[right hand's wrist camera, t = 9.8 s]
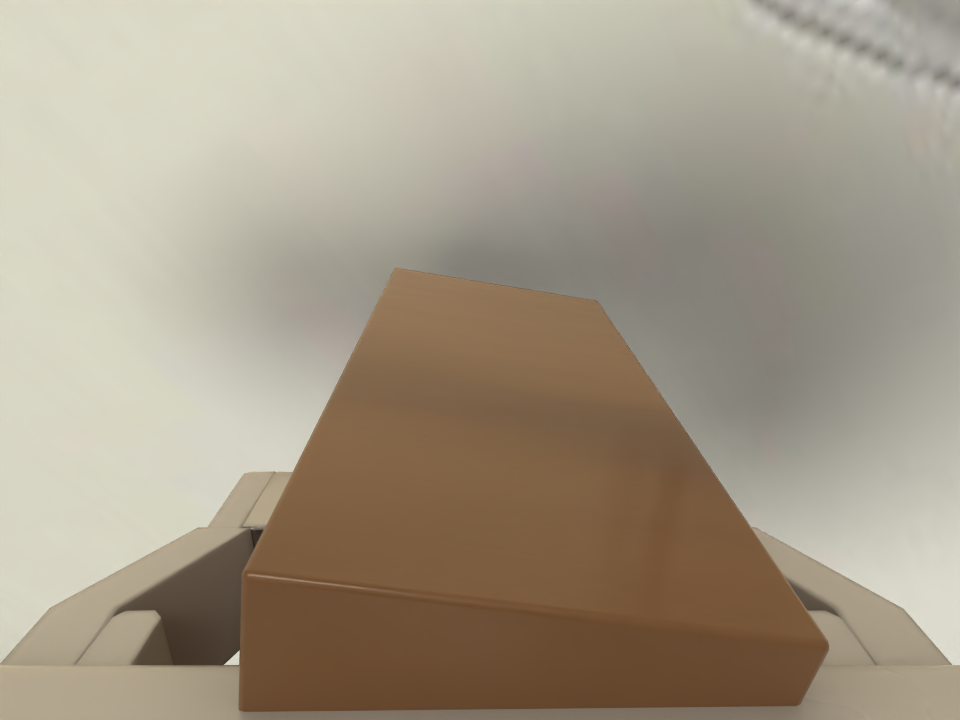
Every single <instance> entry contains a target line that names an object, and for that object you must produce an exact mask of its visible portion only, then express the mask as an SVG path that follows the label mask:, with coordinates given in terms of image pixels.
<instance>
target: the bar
mask: <svg viewBox="0 0 960 720" xmlns="http://www.w3.org/2000/svg"><path fill="white" fill-rule="evenodd" d="M828 651H829V643H828V640H827V639H826V637H825V636H824V634H823V633H822V631H821V630H820V628H819V627H818V625H817V624H816V622H815V621H814V619H813V618H812V616H811V615H810V614H809V612H808V611H807V609H806V608H805V606H804V605H803V603H802V602H801V600H800V599H799V597H798V596H797V594H796V593H795V591H794V590H793V588H792V587H791V586H790V584H789V583H788V581H787V580H786V578H785V577H784V575H783V574H782V572H781V571H780V569H779V568H778V566H777V565H776V563H775V562H774V560H773V559H772V558H771V556H770V555H769V553H768V552H767V550H766V549H765V547H764V546H763V544H762V543H761V541H760V540H759V538H758V537H757V535H756V534H755V532H754V531H753V530H752V528H751V527H750V525H749V524H748V522H747V521H746V519H745V518H744V516H743V515H742V513H741V512H740V510H739V509H738V507H737V506H736V505H735V503H734V502H733V500H732V499H731V497H730V496H729V494H728V493H727V491H726V490H725V488H724V487H723V485H722V484H721V482H720V481H719V479H718V478H717V477H716V475H715V474H714V472H713V471H712V469H711V468H710V466H709V465H708V463H707V462H706V460H705V459H704V457H703V456H702V454H701V453H700V451H699V450H698V449H697V447H696V446H695V444H694V443H693V441H692V440H691V438H690V437H689V435H688V434H687V432H686V431H685V429H684V428H683V426H682V425H681V423H680V422H679V421H678V419H677V418H676V416H675V415H674V413H673V412H672V410H671V409H670V407H669V406H668V404H667V403H666V401H665V400H664V398H663V397H662V395H661V394H660V393H659V391H658V390H657V388H656V387H655V385H654V384H653V382H652V381H651V379H650V378H649V376H648V375H647V373H646V372H645V370H644V369H643V368H642V366H641V365H640V363H639V362H638V360H637V359H636V357H635V356H634V354H633V353H632V351H631V350H630V348H629V347H628V345H627V344H626V342H625V341H624V340H623V338H622V337H621V335H620V334H619V332H618V331H617V329H616V328H615V326H614V325H613V323H612V322H611V320H610V319H609V317H608V316H607V314H606V313H605V312H604V310H603V309H602V307H601V306H600V304H599V303H598V302H597V301H595V300H589V299H582V298H576V297H570V296H564V295H558V294H552V293H546V292H540V291H534V290H527V289H521V288H515V287H509V286H503V285H497V284H491V283H485V282H479V281H472V280H466V279H460V278H454V277H448V276H442V275H436V274H430V273H424V272H418V271H411V270H405V269H399V268H396V269H394V271H393V273H392V275H391V277H390V279H389V281H388V283H387V285H386V287H385V289H384V291H383V293H382V295H381V297H380V299H379V301H378V303H377V305H376V307H375V309H374V311H373V313H372V315H371V317H370V319H369V321H368V323H367V325H366V327H365V329H364V331H363V333H362V335H361V337H360V339H359V341H358V343H357V345H356V347H355V349H354V351H353V353H352V355H351V357H350V359H349V361H348V363H347V365H346V367H345V369H344V371H343V373H342V375H341V377H340V379H339V381H338V383H337V385H336V387H335V389H334V391H333V393H332V395H331V397H330V399H329V401H328V403H327V405H326V407H325V409H324V411H323V413H322V415H321V417H320V419H319V421H318V423H317V425H316V427H315V429H314V431H313V433H312V435H311V437H310V439H309V441H308V443H307V445H306V447H305V449H304V451H303V453H302V455H301V457H300V459H299V461H298V463H297V465H296V467H295V469H294V471H293V473H292V475H291V477H290V479H289V481H288V483H287V485H286V487H285V489H284V491H283V493H282V495H281V497H280V499H279V501H278V503H277V505H276V507H275V509H274V511H273V513H272V515H271V517H270V519H269V520H268V522H267V524H266V526H265V528H264V530H263V532H262V534H261V536H260V538H259V540H258V542H257V544H256V546H255V548H254V550H253V552H252V554H251V556H250V558H249V560H248V562H247V564H246V566H245V568H244V570H243V572H242V578H241V619H240V660H239V701H238V707H239V710H240V711H243V712H286V711H381V710H476V709H571V708H666V707H761V706H797V705H800V704H801V702H802V700H803V698H804V696H805V694H806V693H807V691H808V689H809V687H810V685H811V683H812V681H813V679H814V678H815V676H816V674H817V672H818V670H819V668H820V666H821V664H822V663H823V661H824V659H825V657H826V655H827V653H828Z"/></svg>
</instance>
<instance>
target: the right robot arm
mask: <svg viewBox="0 0 960 720" xmlns="http://www.w3.org/2000/svg"><path fill="white" fill-rule="evenodd" d="M292 473H293V472H277V473H276V472H248V473H245V474H244V475H243V476H242V477H241V479H240V480H239V482H238V483H237V485H236V486H235V487H234V489H233V490H232V492H231V493H230V495H229V496H228V498H227V499H226V501H225V502H224V504H223V505H222V507H221V508H220V510H219V511H218V512H217V514H216V515H215V517H214V518H213V520H212V521H211V523H210V524H209V526H208V527H207V528H197V529H195V530H193V531H191V532H189V533H187V534H186V535H184V536H182V537H180V538H178V539H176V540H175V541H173V542H171V543H169V544H167V545H165V546H163V547H162V548H160V549H158V550H156V551H154V552H152V553H151V554H149V555H147V556H145V557H143V558H141V559H140V560H138V561H136V562H134V563H132V564H130V565H128V566H127V567H125V568H123V569H121V570H119V571H117V572H116V573H114V574H112V575H110V576H108V577H106V578H104V579H103V580H101V581H99V582H97V583H95V584H93V585H92V586H90V587H88V588H86V589H84V590H82V591H81V592H79V593H77V594H75V595H73V596H71V597H69V598H68V599H66V600H64V601H62V602H60V603H58V604H57V605H55V606H53V607H51V608H50V609H49V610H48V611H47V612H46V613H45V614H44V615H43V616H42V618H41V619H40V620H39V621H38V622H37V623H36V624H35V625H34V627H33V628H32V629H31V630H30V631H29V632H28V633H27V634H26V636H25V637H24V638H23V639H22V640H21V641H20V642H19V643H18V644H17V646H16V647H15V648H14V649H13V650H12V651H11V652H10V653H9V655H8V656H7V657H6V658H5V659H4V660H3V661H2V662H1V664H0V720H960V665H952V664H951V663H950V662H949V661H948V659H947V658H946V657H945V656H944V655H943V654H942V652H941V651H940V650H939V649H938V648H937V647H936V646H935V644H934V643H933V642H932V641H931V640H930V639H929V638H928V636H927V635H926V634H925V633H924V632H923V631H922V630H921V628H920V627H919V626H918V625H917V624H916V623H915V621H914V620H913V619H912V618H911V617H910V616H909V615H908V613H907V612H906V611H905V610H904V609H903V608H901V607H899V606H897V605H895V604H894V603H892V602H890V601H888V600H886V599H885V598H883V597H881V596H879V595H877V594H875V593H874V592H872V591H870V590H868V589H866V588H865V587H863V586H861V585H859V584H857V583H855V582H854V581H852V580H850V579H848V578H846V577H845V576H843V575H841V574H839V573H837V572H835V571H834V570H832V569H830V568H828V567H826V566H825V565H823V564H821V563H819V562H817V561H815V560H814V559H812V558H810V557H808V556H806V555H804V554H803V553H801V552H799V551H797V550H795V549H794V548H792V547H790V546H788V545H786V544H784V543H783V542H781V541H779V540H777V539H775V538H774V537H772V536H770V535H768V534H766V533H764V532H763V531H761V530H759V529H757V528H752V530H753V531H754V532H755V534H756V535H757V537H758V538H759V540H760V541H761V543H762V544H763V546H764V547H765V549H766V550H767V552H768V553H769V555H770V556H771V558H772V559H773V560H774V562H775V563H776V565H777V566H778V568H779V569H780V571H781V572H782V574H783V575H784V577H785V578H786V580H787V581H788V583H789V584H790V586H791V587H792V588H793V590H794V591H795V593H796V594H797V596H798V597H799V599H800V600H801V602H802V603H803V605H804V606H805V608H806V609H807V611H808V612H809V614H810V615H811V616H812V618H813V619H814V621H815V622H816V624H817V625H818V627H819V628H820V630H821V631H822V633H823V634H824V636H825V637H826V639H827V640H828V643H829V651H828V653H827V655H826V657H825V659H824V661H823V663H822V664H821V666H820V668H819V670H818V672H817V674H816V676H815V678H814V679H813V681H812V683H811V685H810V687H809V689H808V691H807V693H806V694H805V696H804V698H803V700H802V702H801V704H800V705H797V706H761V707H666V708H571V709H476V710H381V711H286V712H243V711H240V710H239V707H238V701H239V665H224V664H225V663H226V662H227V661H228V660H229V659H230V658H231V657H233V656H234V655H235V654H236V653H237V652H238V651H239V650H240V619H241V578H242V572H243V570H244V568H245V566H246V564H247V562H248V560H249V558H250V556H251V554H252V552H253V550H254V548H255V546H256V544H257V542H258V540H259V538H260V536H261V534H262V532H263V530H264V528H265V526H266V524H267V522H268V520H269V519H270V517H271V515H272V513H273V511H274V509H275V507H276V505H277V503H278V501H279V499H280V497H281V495H282V493H283V491H284V489H285V487H286V485H287V483H288V481H289V479H290V477H291V475H292Z"/></svg>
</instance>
